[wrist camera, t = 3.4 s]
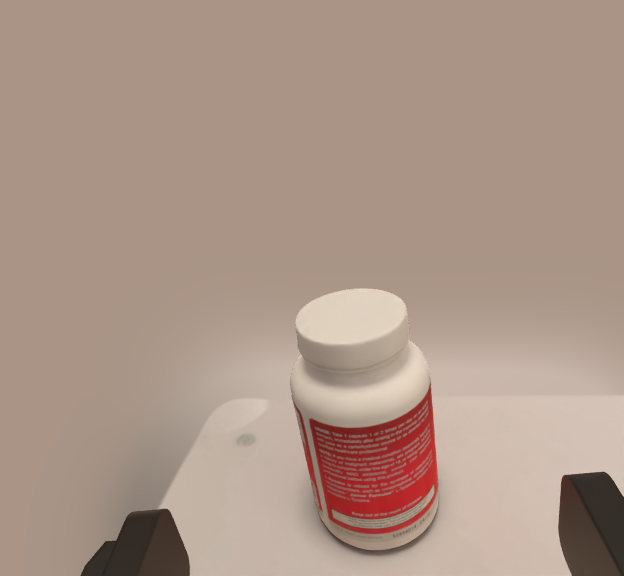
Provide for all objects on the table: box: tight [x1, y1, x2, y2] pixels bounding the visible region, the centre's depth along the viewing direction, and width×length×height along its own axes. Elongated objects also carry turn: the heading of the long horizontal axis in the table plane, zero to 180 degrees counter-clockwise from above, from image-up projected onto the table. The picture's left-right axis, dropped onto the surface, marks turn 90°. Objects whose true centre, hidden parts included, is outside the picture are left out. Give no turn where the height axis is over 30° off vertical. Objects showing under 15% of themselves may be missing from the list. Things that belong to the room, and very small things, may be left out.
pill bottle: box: [290, 289, 439, 550], centre depth 24 cm, size 6×6×11 cm
